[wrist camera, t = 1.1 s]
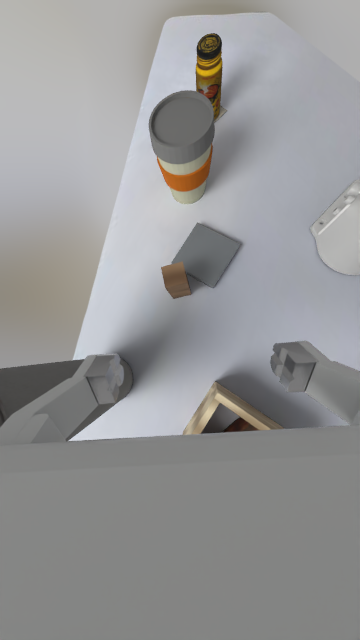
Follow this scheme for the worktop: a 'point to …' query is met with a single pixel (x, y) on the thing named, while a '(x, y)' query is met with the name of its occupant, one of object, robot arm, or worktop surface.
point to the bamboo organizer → (233, 403)
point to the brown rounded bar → (240, 426)
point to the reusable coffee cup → (183, 142)
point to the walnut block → (176, 280)
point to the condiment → (210, 71)
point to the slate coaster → (206, 254)
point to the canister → (48, 387)
